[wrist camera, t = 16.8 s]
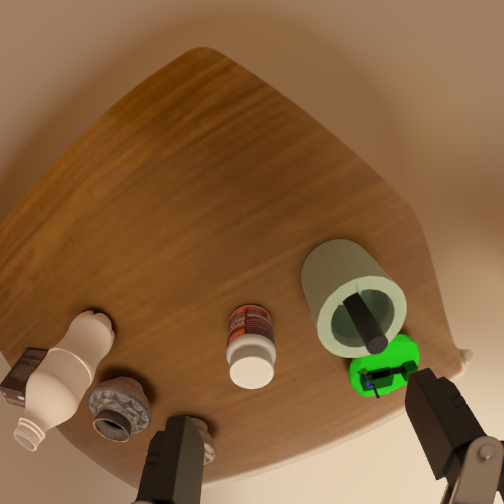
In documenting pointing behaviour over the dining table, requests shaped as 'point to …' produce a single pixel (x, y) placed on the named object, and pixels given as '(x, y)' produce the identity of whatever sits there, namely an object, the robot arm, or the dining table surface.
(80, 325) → the water bottle
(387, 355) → the green rounded lump
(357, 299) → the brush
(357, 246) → the jar
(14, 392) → the box
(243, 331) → the pill bottle
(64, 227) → the dining table surface
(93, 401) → the pottery
